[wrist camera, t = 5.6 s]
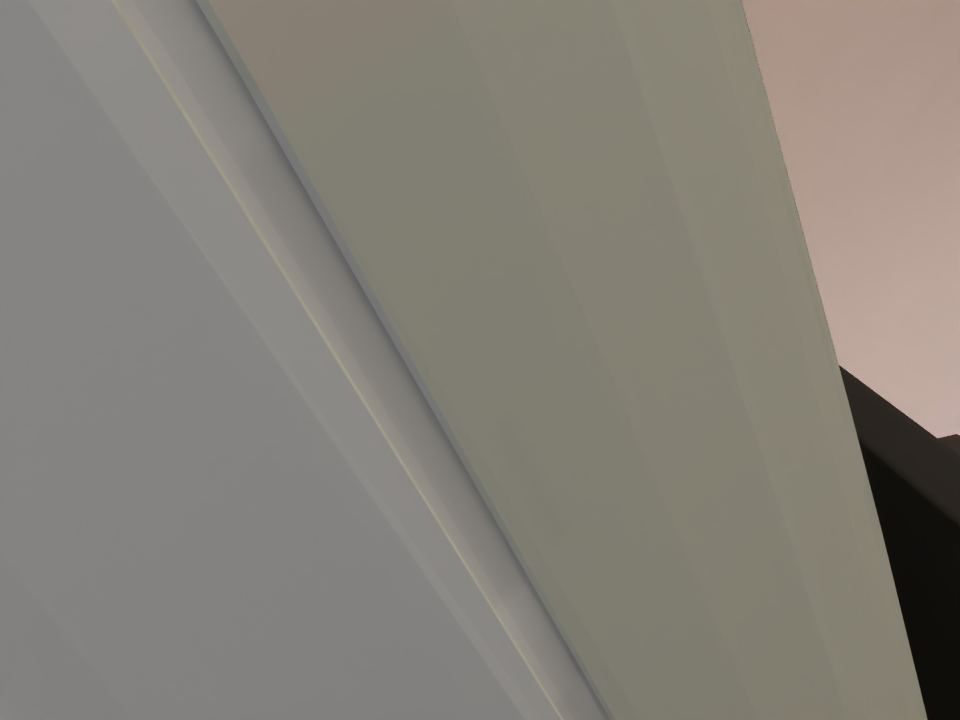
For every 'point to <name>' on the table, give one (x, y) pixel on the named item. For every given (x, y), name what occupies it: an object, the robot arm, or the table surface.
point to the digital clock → (419, 373)
